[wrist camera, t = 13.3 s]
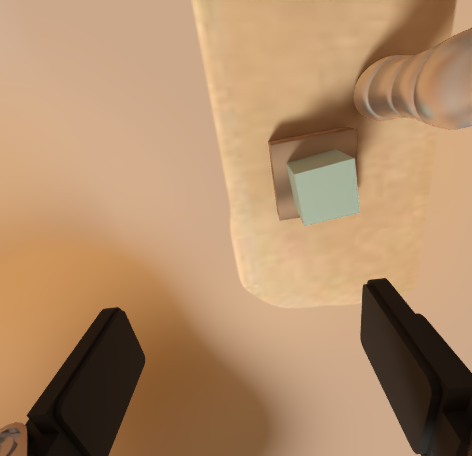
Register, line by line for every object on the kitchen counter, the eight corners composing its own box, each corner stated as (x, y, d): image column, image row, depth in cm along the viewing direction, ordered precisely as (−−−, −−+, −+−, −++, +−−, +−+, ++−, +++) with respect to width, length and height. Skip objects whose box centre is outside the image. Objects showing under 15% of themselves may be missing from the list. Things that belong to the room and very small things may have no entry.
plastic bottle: (411, 102, 32) (630, 98, 14) (356, 130, 33) (487, 158, 15) (398, 46, 29) (642, -50, 11) (340, 79, 31) (471, 41, 13)
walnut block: (268, 141, 35) (270, 145, 31) (344, 126, 33) (356, 129, 30) (276, 209, 39) (280, 220, 35) (345, 198, 38) (355, 208, 34)
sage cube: (286, 163, 32) (294, 174, 26) (335, 149, 31) (354, 158, 25) (295, 207, 34) (304, 226, 29) (341, 195, 33) (360, 212, 28)
